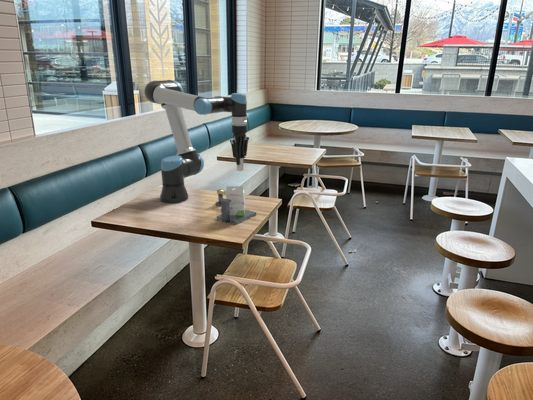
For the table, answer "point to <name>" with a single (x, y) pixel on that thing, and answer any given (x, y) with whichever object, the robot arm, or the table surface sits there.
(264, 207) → the table surface
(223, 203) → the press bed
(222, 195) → the lever post
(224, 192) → the lever
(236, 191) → the ink box
